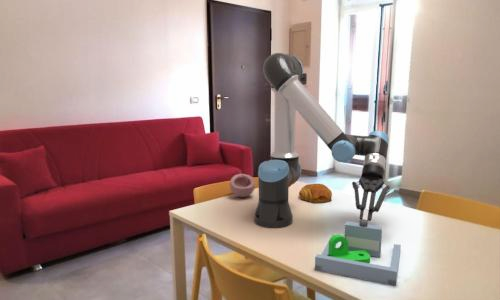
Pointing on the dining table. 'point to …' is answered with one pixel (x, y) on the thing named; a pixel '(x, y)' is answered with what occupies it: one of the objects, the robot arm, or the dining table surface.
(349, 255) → the mechanical part
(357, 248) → the slide jaw
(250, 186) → the pink round pot
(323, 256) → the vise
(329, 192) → the croissant
